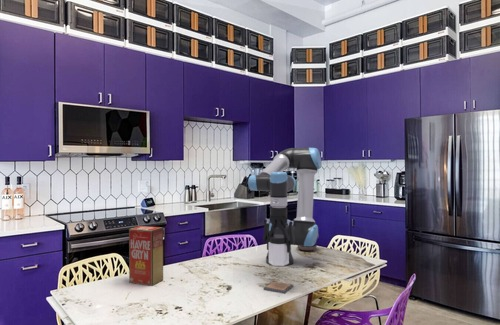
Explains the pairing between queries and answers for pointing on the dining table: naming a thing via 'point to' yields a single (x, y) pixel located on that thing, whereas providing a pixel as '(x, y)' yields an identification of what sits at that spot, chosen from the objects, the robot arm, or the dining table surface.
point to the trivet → (278, 287)
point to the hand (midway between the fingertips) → (278, 258)
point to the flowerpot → (308, 247)
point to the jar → (277, 250)
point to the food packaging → (146, 255)
